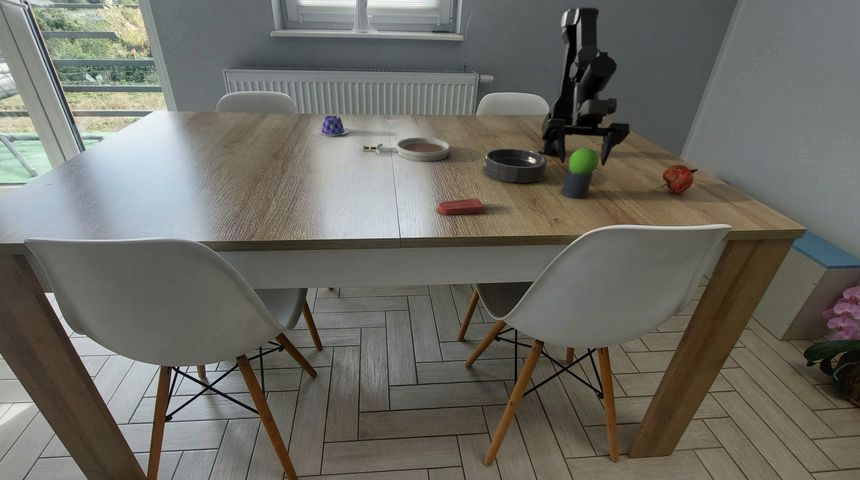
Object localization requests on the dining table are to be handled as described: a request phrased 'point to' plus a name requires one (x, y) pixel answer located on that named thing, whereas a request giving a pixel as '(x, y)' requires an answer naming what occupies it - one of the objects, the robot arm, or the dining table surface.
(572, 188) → the stand cup
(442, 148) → the frying pan
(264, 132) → the dining table surface
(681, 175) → the red rounded piece
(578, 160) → the ball
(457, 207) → the popsicle
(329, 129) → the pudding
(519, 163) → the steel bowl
